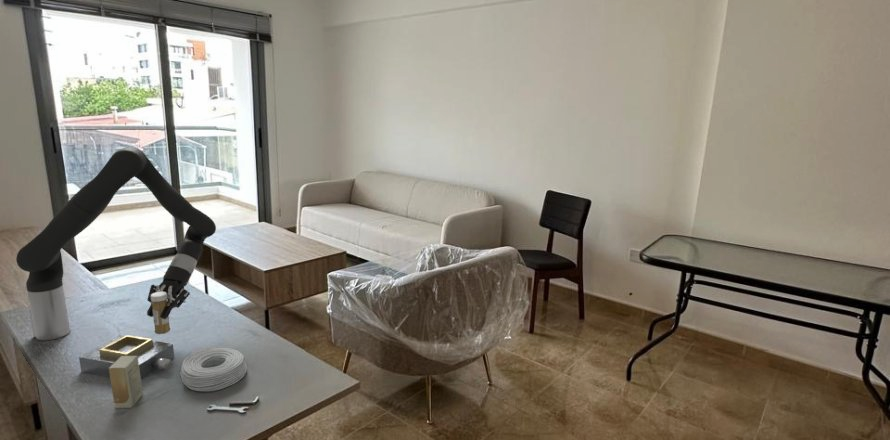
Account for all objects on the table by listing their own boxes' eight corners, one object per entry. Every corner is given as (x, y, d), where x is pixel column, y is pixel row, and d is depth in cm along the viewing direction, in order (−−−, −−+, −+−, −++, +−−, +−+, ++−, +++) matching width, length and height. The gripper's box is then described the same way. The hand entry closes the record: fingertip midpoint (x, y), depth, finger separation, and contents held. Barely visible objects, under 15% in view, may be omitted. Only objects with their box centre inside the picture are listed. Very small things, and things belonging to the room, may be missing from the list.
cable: (177, 372, 144) (175, 354, 142) (238, 356, 154) (237, 339, 153) (187, 401, 130) (185, 382, 129) (253, 381, 141) (252, 363, 139)
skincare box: (127, 394, 132) (121, 354, 129) (143, 394, 132) (138, 354, 129) (113, 409, 126) (107, 367, 123) (130, 408, 126) (125, 367, 123)
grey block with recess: (81, 372, 142) (77, 350, 140) (121, 349, 155) (119, 329, 153) (149, 384, 137) (146, 362, 135) (185, 360, 150) (183, 339, 148)
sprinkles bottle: (171, 332, 157) (167, 294, 154) (154, 335, 154) (150, 297, 151) (169, 327, 160) (166, 290, 157) (154, 330, 158) (150, 292, 155)
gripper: (156, 262, 161) (129, 309, 152) (192, 267, 158) (168, 316, 149) (169, 272, 167) (144, 318, 159) (204, 277, 164) (181, 324, 156)
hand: (156, 316), depth 154 cm, fingers closed on sprinkles bottle, 4 cm apart
